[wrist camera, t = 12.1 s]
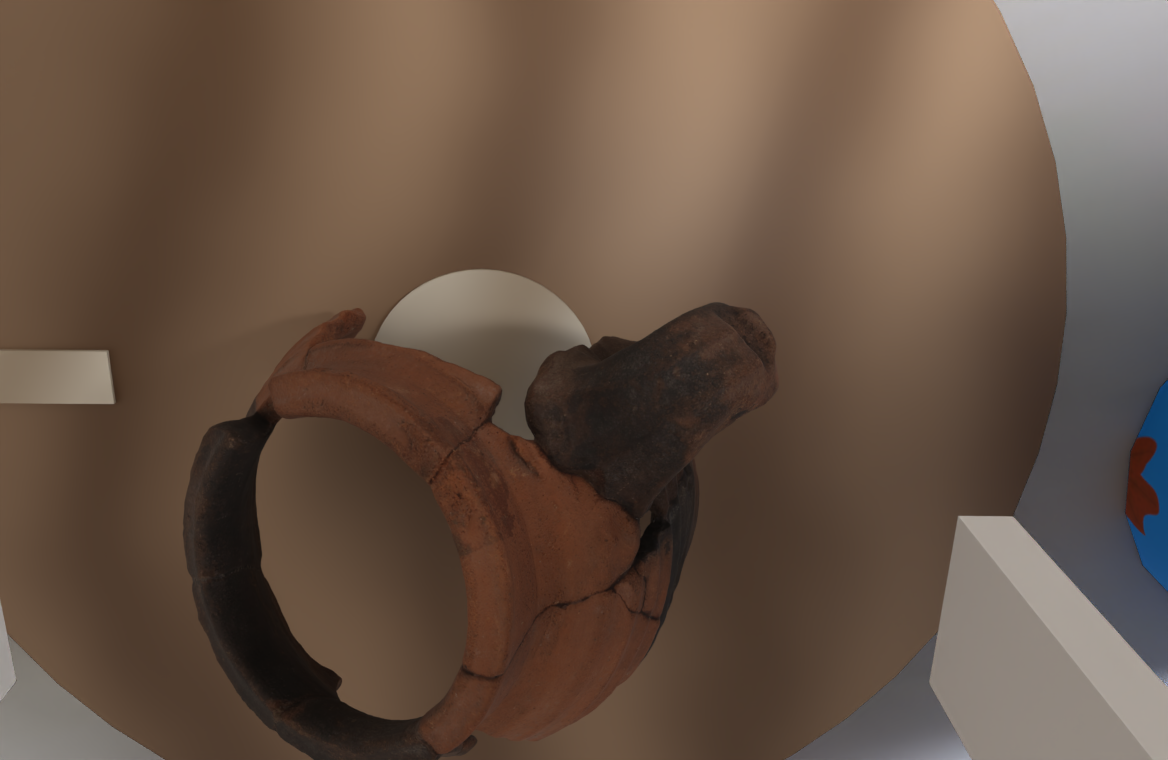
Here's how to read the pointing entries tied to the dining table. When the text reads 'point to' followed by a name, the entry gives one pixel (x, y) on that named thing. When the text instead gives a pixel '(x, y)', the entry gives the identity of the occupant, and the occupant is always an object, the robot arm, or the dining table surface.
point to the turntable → (514, 326)
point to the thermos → (1151, 490)
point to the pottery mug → (487, 520)
